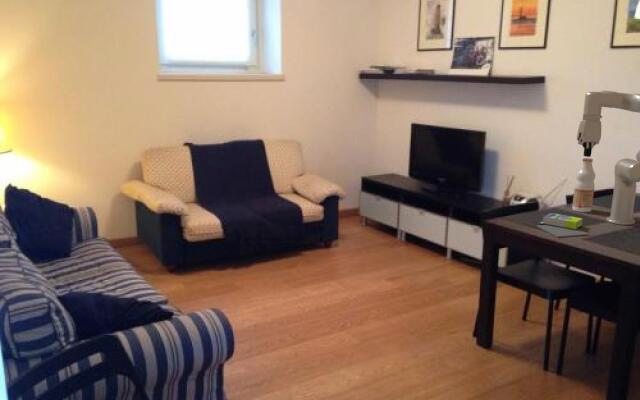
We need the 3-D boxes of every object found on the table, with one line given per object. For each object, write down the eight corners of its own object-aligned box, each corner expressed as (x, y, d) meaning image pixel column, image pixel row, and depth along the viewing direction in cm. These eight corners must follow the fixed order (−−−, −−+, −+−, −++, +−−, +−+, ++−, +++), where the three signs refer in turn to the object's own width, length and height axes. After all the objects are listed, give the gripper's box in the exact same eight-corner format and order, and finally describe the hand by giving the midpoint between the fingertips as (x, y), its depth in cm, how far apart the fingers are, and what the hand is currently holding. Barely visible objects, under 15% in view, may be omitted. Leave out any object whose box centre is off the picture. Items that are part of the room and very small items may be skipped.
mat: (566, 224, 268) (566, 223, 268) (588, 235, 252) (588, 234, 252) (536, 226, 265) (536, 225, 265) (557, 237, 249) (557, 236, 249)
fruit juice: (569, 210, 294) (574, 158, 287) (576, 207, 300) (582, 156, 293) (587, 213, 287) (593, 161, 280) (594, 210, 293) (600, 158, 287)
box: (576, 221, 257) (538, 215, 267) (575, 230, 257) (538, 223, 268) (582, 217, 264) (546, 211, 275) (581, 225, 265) (545, 219, 276)
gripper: (600, 117, 265) (595, 154, 270) (572, 117, 262) (568, 155, 267) (610, 118, 258) (606, 157, 262) (582, 119, 255) (578, 158, 260)
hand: (587, 156), depth 265 cm, fingers closed
